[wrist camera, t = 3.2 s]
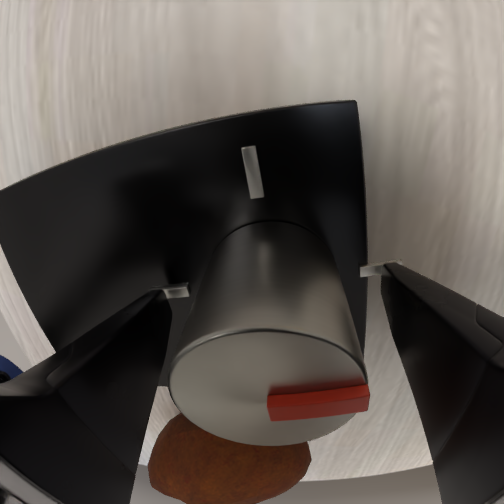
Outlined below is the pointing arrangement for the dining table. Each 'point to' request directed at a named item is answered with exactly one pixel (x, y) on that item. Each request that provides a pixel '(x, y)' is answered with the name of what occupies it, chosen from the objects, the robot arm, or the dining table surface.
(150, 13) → the dining table surface
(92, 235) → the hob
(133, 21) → the dining table surface
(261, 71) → the dining table surface
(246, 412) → the hob knob
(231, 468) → the potato
